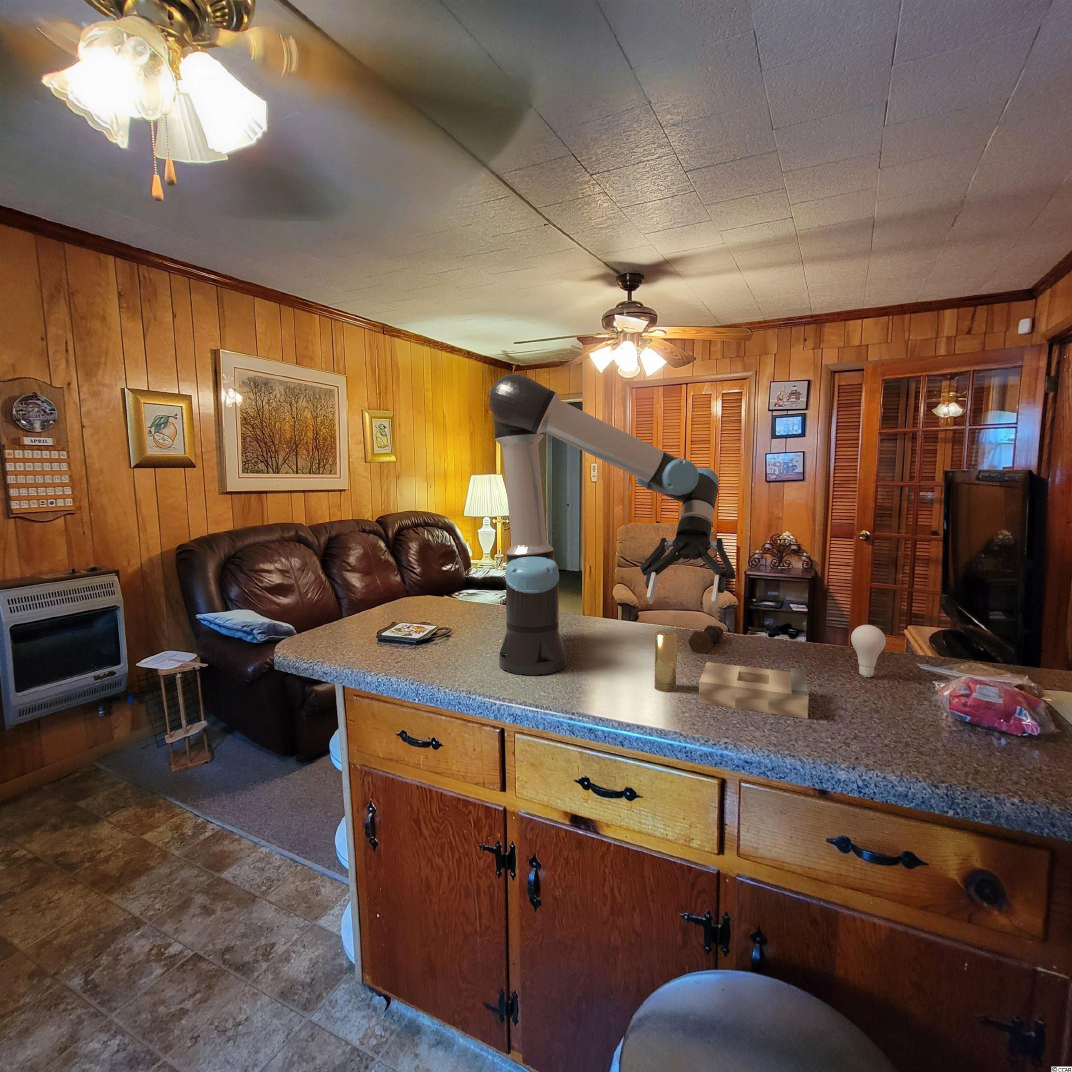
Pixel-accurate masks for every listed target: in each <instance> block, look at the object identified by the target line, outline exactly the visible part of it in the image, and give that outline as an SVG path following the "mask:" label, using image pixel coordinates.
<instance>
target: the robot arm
mask: <svg viewBox="0 0 1072 1072" xmlns="http://www.w3.org/2000/svg"><path fill="white" fill-rule="evenodd" d="M488 404H489V408H490V411H491V413H492V418H493V428H494V439H495V442H497V443H498V444H499V445H500V446H501V447H502V456H503V467H504V476H505V478H504V479H505V489H506V498H507V499H506V501H507V509H508V510H507V511H508V518H509V519H508V520H509V529H510V541H511V546H510V548H508V549H507V551H506V561H507V562H506V563H507V565H506V567H505V573H504V580H505V598H506V599H505V603H506V604H505V605H506V606H505V612H506V614H505V617H506V619H505V620H506V628H505V629H506V631H505V634H504V638H503V641H502V644H501V647H500V650H499V653H498V665H499V668H501V669H502V670H503V671H505V670H506V672H508V673H511V672H512V673H511V674H514V675H515V674H516V675H522V674H525V675H526V676H540V675H539V674H542V675H547V674H548V673H549V674H553V673H556V671H557V672H559V671H561V670H563V669H564V668H566V666H567V651H566V648H565V646H564V643H563V639H562V636H561V633H560V631H559V629H560V628H559V613H560V611H559V610H560V609H559V601H560V599H559V597H560V595H559V581H560V572H559V566H558V564H557V563H556V561H555V553H554V547H553V546H552V545H550V544H549V543H548V542H547V532H546V530H547V529H546V521H545V520H546V519H545V510H544V507H545V506H544V496H543V488H542V487H543V485H542V475H541V465H540V453H539V443H540V442H541V440H542V439H543V438H544V433H545V434H547V435H549V436H552V437H553V438H556V439H557V440H560V441H562V442H563V443H566V444H568V445H570V446H572V447H574V448H576V449H578V450H580V451H583V452H584V453H587V454H589V455H591V456H592V457H595V458H596V459H599V460H601V461H603V462H605V463H607V464H609V465H611V466H613V467H615V468H618V469H619V470H622V471H623V472H626V473H627V474H629V475H632V476H633V477H635V478H636V483H637V485H639V486H641V487H643V488H645V489H646V490H648V491H653V492H655V493H656V494H657V493H658V495H659V494H660V495H662V496H664V497H668V498H670V499H673V500H674V501H677V502H679V503H682V505H681V508H680V509H681V510H680V513H679V514H680V515H679V519H678V523H677V528H676V534H675V538H674V539H673V540H668V539H667V538H666V537H662V538H660V541H659V544H658V546H656V548H655V549H654V551H652V553H650V555H649V556H648V557H647V558H646V560H644V562H643V563H642V565H640V570H641V573H642V575H643V576H646V577H645V581H644V584H645V587H646V589H647V593H646V596H645V597H646V599H647V600H646V601H648V604H650V605H653V603H654V598H655V594H656V589H657V585H658V582H659V581H658V580H659V579H658V575H659V574H661V573H662V572H664V571H665V570H666V569H668V568H669V567H670V566H671V565H672V564H674V563H675V562H678V561H679V560H681V559H683V560H690V559H691V560H697V561H698V559H700V560H702V562H703V563H705V564H706V565H707V567H709V568H710V570H711V571H712V572H713V573H714V578H713V579H714V580H713V587H712V594H711V600H710V601H711V606H712V608H713V609H718V604H719V597H720V596H719V595H720V594H724V593H725V590H726V583H727V581H728V580H735V579H736V578H737V577H736V572H735V568H734V567H733V565H732V562H731V560H730V558H729V556H728V555H727V553H726V551H725V547H724V546H725V545H724V542H723V539H722V537H719V538H717V539H716V540H713V541H712V540H711V535H712V529H713V528H712V526H713V522H714V514H715V508H716V503H717V502H716V501H717V498H718V494H719V477H718V475H717V473H716V472H715V471H714V470H712V469H710V468H707V467H705V468H702V467H696V465H695V464H694V463H693V462H692V461H690V460H689V459H685V458H677V457H675V455H672V454H669V453H667V452H665V451H663V450H661V449H659V448H658V447H656V446H654V445H652V444H651V443H650V444H649V443H648V442H645V441H643V440H642V439H639V438H638V437H635V436H633V435H631V434H629V433H627V432H626V431H623V430H621V429H619V428H617V427H615V426H613V425H611V424H609V423H607V422H605V421H603V420H602V419H600V418H597V417H595V416H593V415H592V414H589V413H587V412H585V411H583V410H581V409H578V408H577V407H575V406H573V405H571V404H569V403H567V402H565V401H563V400H561V399H560V397H559V394H558V392H556V391H553V390H552V389H550V388H548V387H546V386H544V385H543V384H541V383H539V382H537V381H536V380H534V379H532V377H531V378H530V377H529V376H527V375H524V374H521V373H509V374H506V375H503V376H501V377H500V378H498V379H497V381H495V382H494V384H493V385H492V387H491V389H490V391H489V398H488ZM711 548H712V549H713V550H714V551H715V552H717V553H718V554H717V555H718V556H719V558H720V560H721V562H722V564H723V567H724V568H722V567H721V566H720V565H719V563H718V562H717V561H716V560H715V559H714V558H713V557H712V556H711V554H709V551H710V549H711ZM667 551H669V552H668V553H666V552H667Z"/></svg>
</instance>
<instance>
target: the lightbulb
mask: <svg viewBox="0 0 1072 1072" xmlns="http://www.w3.org/2000/svg"><path fill="white" fill-rule="evenodd" d="M850 641H851V644H852V646H853V649H854V650H855V652H856V656H857V663H858V665H859V666H858V668H859V670H858V672H859V674H860V675H861V676H862V677H863V676H864V677H863V678H866V677H869V678H870V677H873V676H874V674H875V667H876V666H877V661H878V658H879V655H880V654H881V653H882V652H883V650H884V648H885V646H886V644H887V641H886V636H885V634H884V632H883V631H882V630H881V629H880V628H878V627H877V626H874V625H871V624H862V625H859V626H857V627H855V628H854V630H853V631H852V633H851V635H850Z"/></svg>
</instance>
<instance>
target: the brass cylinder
mask: <svg viewBox="0 0 1072 1072" xmlns="http://www.w3.org/2000/svg"><path fill="white" fill-rule="evenodd" d="M677 665H678V633H677V632H675V631H672V630H657V631H655V633H654V689H655V690H656V691H659V692H661V693H672V692H675V691H677V678H678V677H677V674H678V673H677V672H678V671H677V670H678V668H677V667H678V666H677Z"/></svg>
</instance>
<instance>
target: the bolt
mask: <svg viewBox="0 0 1072 1072" xmlns="http://www.w3.org/2000/svg"><path fill="white" fill-rule="evenodd" d="M723 637H724V630H723V629H722V628H721V627H720V625H719V626H718V625H710V624H708V625H707V626H705V628H704V629H703V631H698V630H695V631H693V632H692V634H691V636H690V637H689V639H688V641H687V644H688V645H689V647H690V650H691V651H692V652H693V653H695V654H700V655H701V654H702V655H707V654H708V653H709V651H710V650H711V649H712V647H713V646H714V645H717V644H719V643H720V641H721V640H722V638H723Z"/></svg>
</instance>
